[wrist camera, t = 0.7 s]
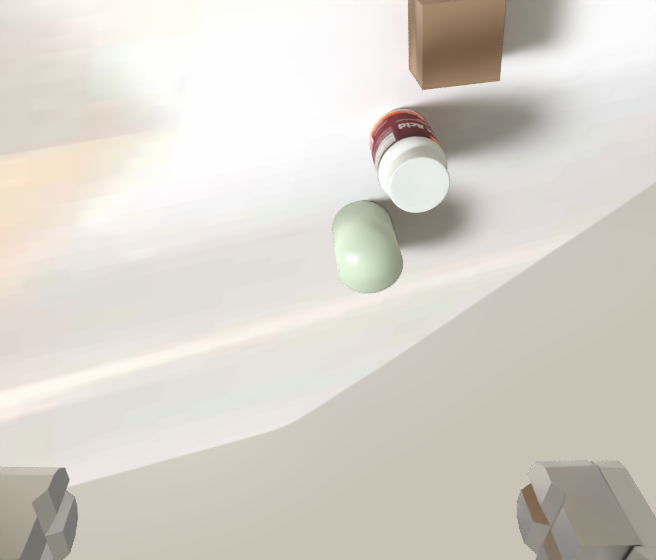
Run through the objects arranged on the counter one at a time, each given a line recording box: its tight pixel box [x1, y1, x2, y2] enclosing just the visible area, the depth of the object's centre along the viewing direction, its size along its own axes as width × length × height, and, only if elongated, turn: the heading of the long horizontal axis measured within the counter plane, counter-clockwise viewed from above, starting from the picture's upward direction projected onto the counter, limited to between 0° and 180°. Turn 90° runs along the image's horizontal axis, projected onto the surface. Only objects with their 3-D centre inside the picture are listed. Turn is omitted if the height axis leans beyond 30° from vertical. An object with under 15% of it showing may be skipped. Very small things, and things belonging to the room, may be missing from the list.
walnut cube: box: [408, 0, 506, 90], centre depth 37 cm, size 5×5×5 cm
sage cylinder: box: [332, 201, 403, 293], centre depth 45 cm, size 5×5×6 cm
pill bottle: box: [369, 109, 450, 213], centre depth 40 cm, size 5×5×8 cm
